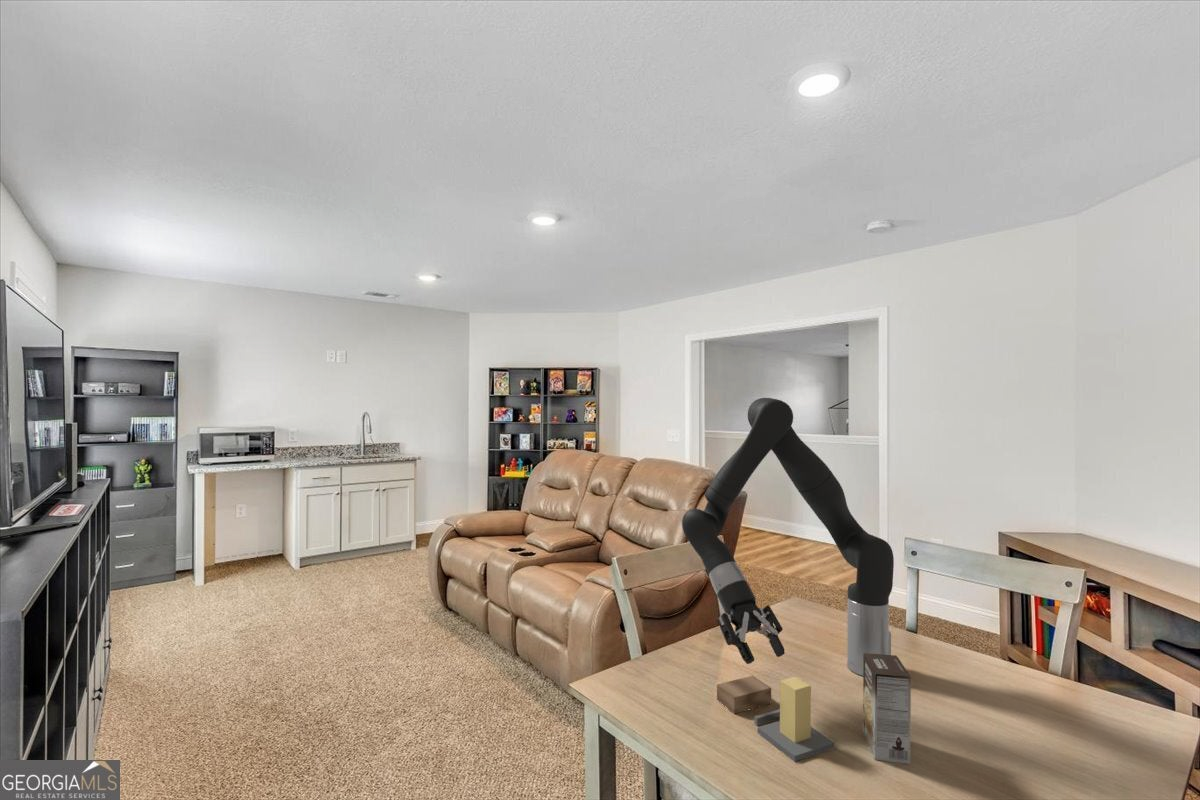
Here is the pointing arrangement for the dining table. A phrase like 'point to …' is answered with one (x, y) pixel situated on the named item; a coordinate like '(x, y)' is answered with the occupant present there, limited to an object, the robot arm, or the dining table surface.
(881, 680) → the coffee box
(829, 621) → the dining table surface
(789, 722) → the pale yellow rectangular prism
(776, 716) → the block
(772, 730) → the mat
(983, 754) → the dining table surface
